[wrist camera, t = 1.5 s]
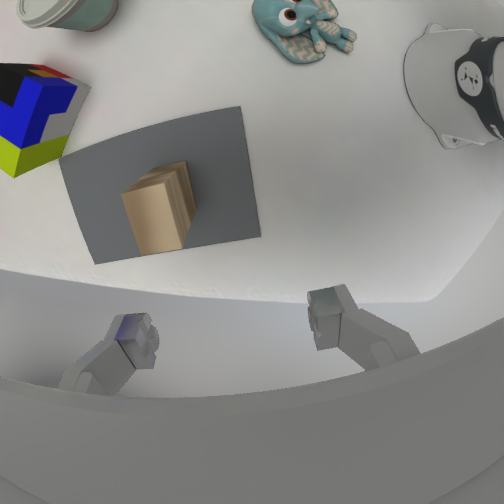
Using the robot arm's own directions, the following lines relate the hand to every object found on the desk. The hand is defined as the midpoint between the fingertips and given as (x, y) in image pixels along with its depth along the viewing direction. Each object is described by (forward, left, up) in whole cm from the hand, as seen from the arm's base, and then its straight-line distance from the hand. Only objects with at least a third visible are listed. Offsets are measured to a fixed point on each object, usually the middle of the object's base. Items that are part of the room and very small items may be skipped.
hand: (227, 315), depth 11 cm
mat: (+10, 0, -23) cm, 25 cm away
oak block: (+7, 0, -23) cm, 24 cm away
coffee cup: (+13, -26, -24) cm, 37 cm away
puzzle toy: (+22, -15, -24) cm, 36 cm away
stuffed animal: (-10, -17, -24) cm, 31 cm away
